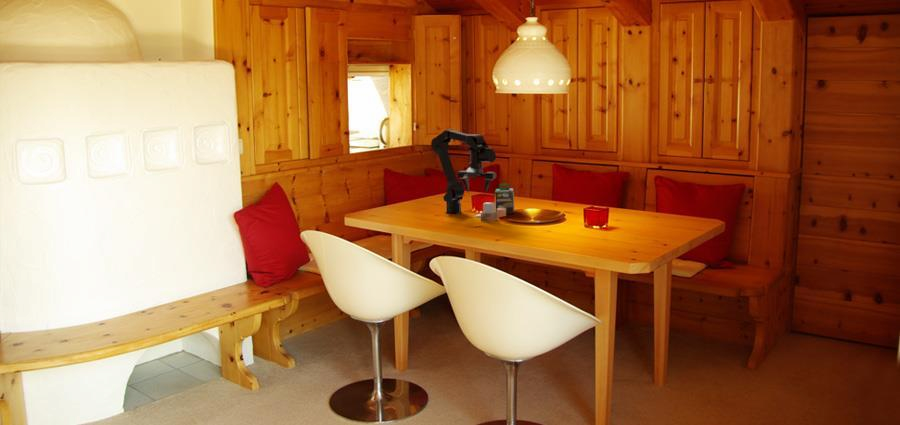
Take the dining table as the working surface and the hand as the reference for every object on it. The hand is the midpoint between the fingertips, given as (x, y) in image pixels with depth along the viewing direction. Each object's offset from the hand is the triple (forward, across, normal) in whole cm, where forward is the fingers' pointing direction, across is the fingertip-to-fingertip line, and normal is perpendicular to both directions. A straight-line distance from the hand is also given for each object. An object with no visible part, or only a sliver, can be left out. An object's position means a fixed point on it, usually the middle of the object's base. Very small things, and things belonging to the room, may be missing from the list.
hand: (476, 192), depth 430 cm
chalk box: (+12, +10, +13) cm, 20 cm away
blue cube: (+8, +9, -8) cm, 14 cm away
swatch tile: (+12, +3, +1) cm, 12 cm away
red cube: (+12, +12, +2) cm, 17 cm away
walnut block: (+12, +9, -8) cm, 17 cm away
